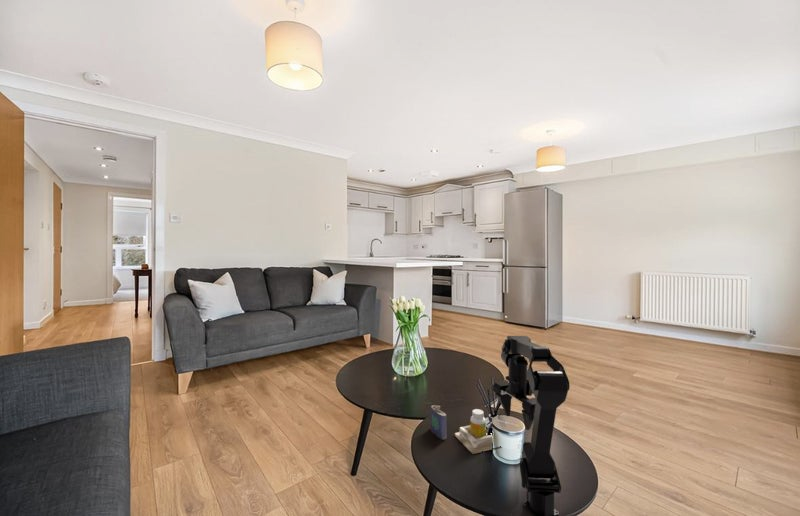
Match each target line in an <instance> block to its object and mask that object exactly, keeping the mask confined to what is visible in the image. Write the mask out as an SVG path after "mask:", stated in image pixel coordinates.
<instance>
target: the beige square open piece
mask: <svg viewBox="0 0 800 516" xmlns="http://www.w3.org/2000/svg"><path fill="white" fill-rule="evenodd" d="M490 434H491V435H487V436H483V437H479V438H474V437H473V436H472V435H471V434H470V424H468V425H465V426H460V427H459V431H458V432H455V433H454V436H455V437H456V438H457V440H458V441H460V443H462V445H463V446H464V447H465V448H466V449H467V450H468V451H469V452H470V453H471V454H472V455H474V454H479V453H483V452H487V451H490V450H493V449H492V433H490ZM482 451H483V452H482Z"/></svg>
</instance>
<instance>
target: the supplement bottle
mask: <svg viewBox="0 0 800 516" xmlns="http://www.w3.org/2000/svg"><path fill="white" fill-rule="evenodd" d="M471 411H472V412H471V415H472V416H470V424H469V425H470V434H471V435H472V436H473V437H474V438H479V437H483V436H486V427H487V425H486V424H487V423H486V422H487V421H486V420H487V419H486V418H485V417H484V416H485V414H484V411H483V410H482V409H479V408H475V409H472V410H471Z"/></svg>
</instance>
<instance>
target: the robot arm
mask: <svg viewBox="0 0 800 516" xmlns="http://www.w3.org/2000/svg"><path fill="white" fill-rule="evenodd" d="M500 358H501V360H502V362H503V363H504V364H505V366H506V367H507V368H508V375H506V376H505V380H503V381H502V380H501V381H496V382H494V383H493V384H492V391H493V392H494V393H495V395H496V397H497V399H498V401H499V403H500V405H501V407H502V409H503V411H504V413H505V416H506V417H510V416H511V407H512V399H513V398H514V399H516V400H517V401H519V402H521V408H522V410H521V415H522V418H523V423H524V427H525V430H526V431H529V430H530V429H531V427H532V430H531V438H530V441H529V442H528V441H524V442H523V444H522V451H521V457H520V459H519V463H518V466H519V472H520V480H521V481H520V483H521V488H524V489H525V491H526V500H525V501H523V502H522V505H523V507H524V508H525V509H526V510H527V511H528V512H529V513H530V514H531V515H532V516H557V515H558V516H559V514H560V513H559V511H558V510H557V509H556V508H555V493H557V494H561V491H562V484H561V481H560V477H559V473H558V468H557V466H556V462H555V459H554V457H553V455H552V452H551V449H552V448H551V447H552V442H553V441H552V440H553V435H554V428H555V422H556V421H555V420H556V415H557V409H558V408H559V407H560V406H561V405H562V404H563V403H565V401H566V399H567V398H568V397H567V396H568V392H569V390H570V387H571V386H570V380H569V378H568V375H567V373H566V370H565V368H564V365H563V364H562V363H560V362H559V361H558V360H557V359H556V357H555V356H553V354H552V352H551V350H550V348H549V347H546V345H545V346H544V345H540V344H537V343H534V342H532V339H531V338H530V337H529V336H527V335H507V336H506V339H504V342H503V345H502V346H501V354H500ZM528 361H529V362H528ZM534 362H535V363H546V365H547V366H548V367H549V368H550V369H551V370H534V369H533V366H532V365H533V363H534ZM532 396H534V397H532ZM528 397H531V398H528Z"/></svg>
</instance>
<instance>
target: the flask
mask: <svg viewBox="0 0 800 516" xmlns="http://www.w3.org/2000/svg"><path fill="white" fill-rule="evenodd" d="M430 432H431V433H432V434H433V435H435V436H436V437H437V438H439V439H440V440H441V441H445V440H446V439H447V413H445V412H444V411H442V410H441V405H431V406H430Z"/></svg>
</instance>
